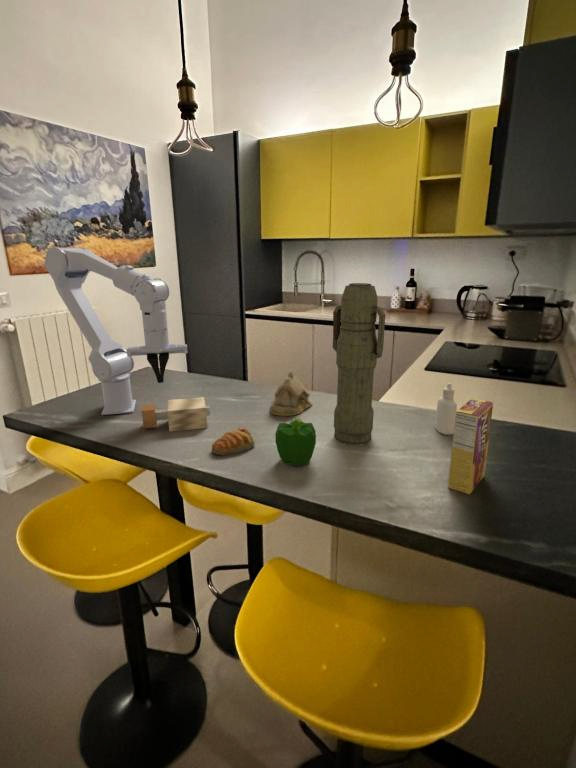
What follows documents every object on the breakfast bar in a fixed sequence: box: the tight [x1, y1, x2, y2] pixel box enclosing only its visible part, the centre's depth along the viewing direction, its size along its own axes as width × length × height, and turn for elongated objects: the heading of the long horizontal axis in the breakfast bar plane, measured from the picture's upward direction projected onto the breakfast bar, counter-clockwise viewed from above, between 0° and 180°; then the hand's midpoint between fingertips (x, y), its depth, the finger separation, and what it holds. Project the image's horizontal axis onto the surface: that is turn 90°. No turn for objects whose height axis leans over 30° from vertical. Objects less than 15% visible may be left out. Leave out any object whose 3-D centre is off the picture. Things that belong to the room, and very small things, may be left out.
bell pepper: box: [275, 417, 317, 467], centre depth 87 cm, size 8×8×10 cm
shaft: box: [141, 403, 211, 429], centre depth 106 cm, size 16×4×4 cm, turn 104°
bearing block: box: [167, 396, 208, 432], centre depth 107 cm, size 9×8×5 cm
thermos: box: [332, 282, 386, 446], centre depth 94 cm, size 9×12×35 cm
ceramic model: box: [269, 372, 313, 417], centre depth 117 cm, size 14×11×10 cm
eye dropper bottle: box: [434, 382, 458, 436], centre depth 101 cm, size 4×6×12 cm
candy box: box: [447, 398, 494, 495], centre depth 78 cm, size 9×4×15 cm, turn 140°
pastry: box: [211, 427, 255, 456], centre depth 94 cm, size 9×7×4 cm
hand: (160, 381), depth 110 cm, fingers closed
